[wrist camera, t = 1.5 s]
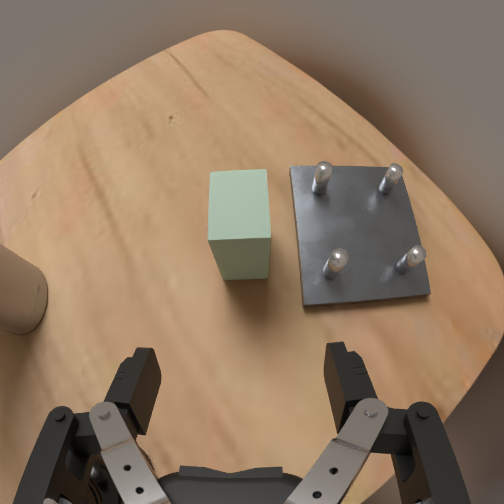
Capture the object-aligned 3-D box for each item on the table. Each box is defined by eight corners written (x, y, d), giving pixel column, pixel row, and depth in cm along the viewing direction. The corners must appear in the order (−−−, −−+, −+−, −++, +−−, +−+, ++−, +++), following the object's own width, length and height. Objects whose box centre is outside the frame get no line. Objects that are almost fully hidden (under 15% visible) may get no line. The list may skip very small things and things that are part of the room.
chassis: (302, 307, 30) (310, 294, 25) (289, 172, 36) (292, 143, 31) (425, 296, 30) (449, 282, 25) (396, 173, 36) (410, 148, 31)
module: (223, 280, 32) (207, 240, 22) (223, 226, 34) (210, 171, 25) (268, 278, 32) (271, 237, 22) (265, 224, 34) (266, 169, 24)
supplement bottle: (133, 503, 23) (79, 548, 11) (86, 461, 24) (18, 485, 13) (167, 467, 24) (118, 510, 13) (116, 423, 26) (47, 440, 15)
